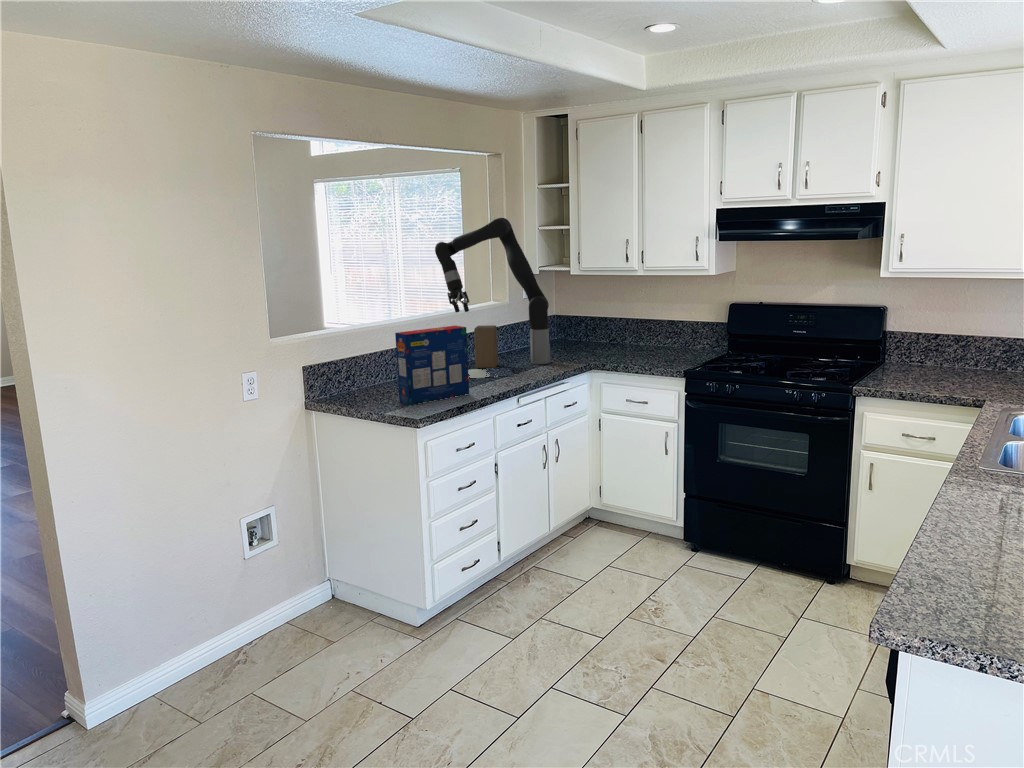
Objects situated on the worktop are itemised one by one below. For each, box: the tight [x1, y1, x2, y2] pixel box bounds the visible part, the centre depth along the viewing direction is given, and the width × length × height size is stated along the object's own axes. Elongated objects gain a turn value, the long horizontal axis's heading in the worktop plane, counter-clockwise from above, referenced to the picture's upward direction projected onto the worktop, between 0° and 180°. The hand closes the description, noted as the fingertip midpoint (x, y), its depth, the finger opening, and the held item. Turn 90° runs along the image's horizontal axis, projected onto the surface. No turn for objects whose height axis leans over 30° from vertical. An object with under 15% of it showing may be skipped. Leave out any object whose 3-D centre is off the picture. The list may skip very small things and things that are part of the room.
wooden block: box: [473, 324, 499, 369], centre depth 376 cm, size 10×10×20 cm
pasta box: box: [394, 325, 470, 406], centre depth 308 cm, size 28×8×28 cm, turn 127°
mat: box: [468, 368, 499, 379], centre depth 361 cm, size 22×22×1 cm
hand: (462, 311), depth 383 cm, fingers open, 8 cm apart
